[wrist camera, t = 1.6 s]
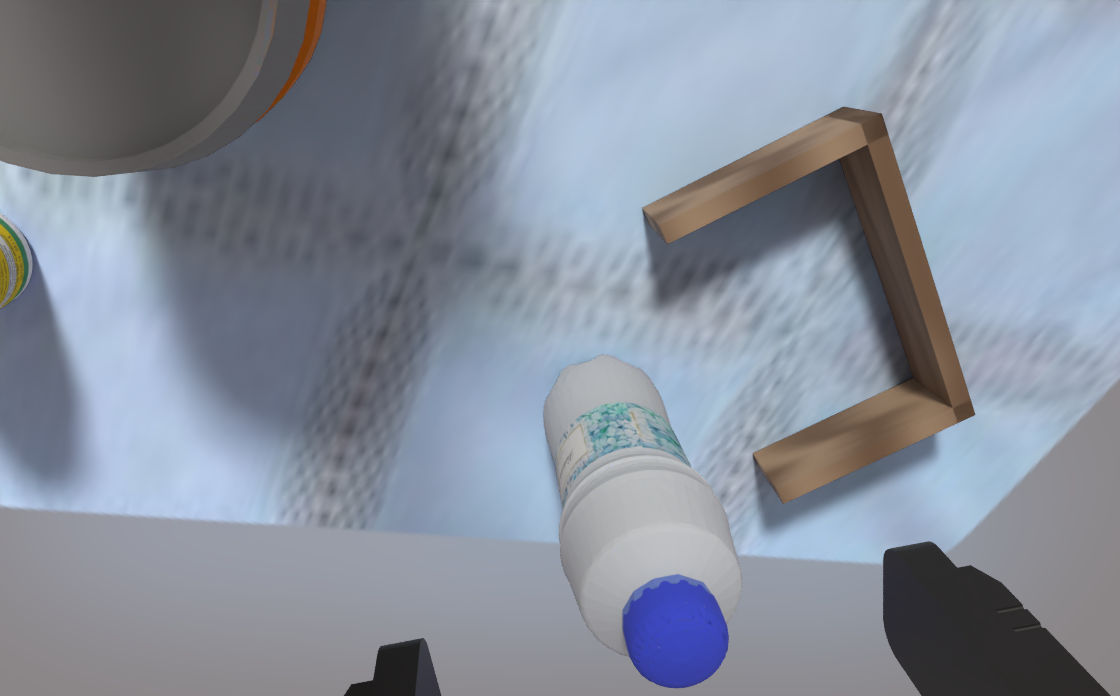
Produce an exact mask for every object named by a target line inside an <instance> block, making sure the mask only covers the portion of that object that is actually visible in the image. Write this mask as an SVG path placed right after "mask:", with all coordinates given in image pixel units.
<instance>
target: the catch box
mask: <svg viewBox="0 0 1120 696" xmlns="http://www.w3.org/2000/svg"><path fill="white" fill-rule="evenodd" d="M837 159H840V162H841V165H842V168H843V171H844V174H845V177H846V180H847V183H848V186H849V189H850V192H851V195H852V198H853V201H854V204H855V207H856V210H857V212H858V215H859V218H860V221H861V224H862V227H863V230H864V233H865V236H866V239H867V242H868V245H869V248H870V251H871V254H872V257H873V260H874V263H875V265H876V268H877V271H878V274H879V277H880V280H881V283H882V286H883V289H884V292H885V295H886V298H887V301H888V304H889V307H890V310H891V313H892V316H893V319H894V321H895V324H896V327H897V330H898V333H899V336H900V339H901V342H902V345H903V348H904V351H905V354H906V357H907V360H908V363H909V366H910V369H911V372H912V375H913V377H914V378H912V379H910V380H908V381H905V382H903V383H901V384H899V385H897V386H895V387H893V388H891V389H888V390H886V391H884V392H882V393H880V394H878V395H876V396H874V397H871V398H869V399H867V400H865V401H863V402H861V403H859V404H857V405H854V406H852V407H850V408H848V409H846V410H844V411H842V412H840V413H837V414H835V415H833V416H831V417H829V418H827V419H825V420H823V421H820V422H818V423H816V424H814V425H812V426H810V427H808V428H806V429H803V430H801V431H799V432H797V433H795V434H793V435H791V436H789V437H786V438H784V439H782V440H780V441H778V442H776V443H774V444H772V445H769V446H767V447H765V448H763V449H761V450H759V451H757V452H755V453H753V455H754V457H755V459H756V462H757V464H758V466H759V468H760V469H761V471H762V472H763V474H764V475H765V477H766V478H767V480H768V481H769V483H770V484H771V486H772V488H773V489H774V491H775V492H776V494H777V495H778V497H779V498H780V500H781V501H782V503H783V504H784V503H786V502H788V501H791V500H793V499H795V498H797V497H799V496H801V495H804V494H806V493H808V492H810V491H812V490H814V489H817V488H819V487H821V486H823V485H825V484H827V483H829V482H832V481H834V480H836V479H838V478H840V477H842V476H845V475H847V474H849V473H851V472H853V471H855V470H858V469H860V468H862V467H864V466H866V465H868V464H870V463H873V462H875V461H877V460H879V459H881V458H883V457H886V456H888V455H890V454H892V453H894V452H896V451H899V450H901V449H903V448H905V447H907V446H909V445H911V444H914V443H916V442H918V441H920V440H922V439H924V438H927V437H929V436H931V435H933V434H935V433H937V432H940V431H942V430H944V429H946V428H948V427H950V426H952V425H955V424H957V423H959V422H961V421H963V420H965V419H968V418H970V417H972V416H974V415H975V412H974V409H973V406H972V402H971V399H970V396H969V393H968V390H967V386H966V383H965V380H964V377H963V373H962V370H961V367H960V364H959V361H958V357H957V354H956V351H955V348H954V344H953V341H952V338H951V335H950V332H949V328H948V325H947V322H946V319H945V316H944V312H943V309H942V306H941V303H940V299H939V296H938V293H937V290H936V287H935V283H934V280H933V277H932V274H931V270H930V267H929V264H928V261H927V258H926V254H925V251H924V248H923V245H922V241H921V238H920V235H919V232H918V229H917V225H916V222H915V219H914V216H913V213H912V209H911V206H910V203H909V200H908V196H907V193H906V190H905V187H904V184H903V180H902V177H901V174H900V171H899V167H898V164H897V161H896V158H895V155H894V151H893V148H892V145H891V142H890V138H889V135H888V132H887V129H886V126H885V122H884V119H883V116H882V114H881V113H876V112H870V111H865V110H859V109H854V108H848V107H842V108H840V109H838V110H836V111H834V112H832V113H830V114H828V115H826V116H824V117H822V118H820V119H818V120H816V121H814V122H812V123H810V124H808V125H806V126H804V127H802V128H800V129H798V130H796V131H794V132H792V133H790V134H788V135H786V136H784V137H782V138H780V139H778V140H776V141H774V142H772V143H770V144H768V145H766V146H764V147H762V148H760V149H758V150H756V151H754V152H752V153H750V154H748V155H746V156H745V157H743V158H741V159H739V160H737V161H735V162H733V163H731V164H729V165H727V166H725V167H723V168H721V169H719V170H717V171H715V172H713V173H711V174H709V175H707V176H705V177H703V178H701V179H699V180H697V181H695V182H693V183H691V184H689V185H687V186H685V187H683V188H681V189H679V190H677V191H675V192H673V193H671V194H669V195H667V196H665V197H663V198H661V199H659V200H657V201H655V202H653V203H651V204H649V205H647V206H645V207H643V211H644V213H645V215H646V217H647V220H648V222H649V224H650V226H651V227H652V228H653V229H654V230H655V231H656V232H657V233H658V234H659V236H660V237H661V238H662V239H663V240H664V241H665V242H666V243H667V244H669V243H671V242H673V241H675V240H677V239H679V238H681V237H683V236H685V235H687V234H689V233H691V232H693V231H695V230H697V229H699V228H701V227H703V226H705V225H707V224H709V223H711V222H713V221H715V220H717V219H719V218H721V217H723V216H725V215H727V214H729V213H731V212H733V211H735V210H737V209H739V208H741V207H743V206H745V205H747V204H749V203H751V202H753V201H755V200H757V199H759V198H761V197H763V196H765V195H767V194H769V193H771V192H773V191H775V190H777V189H779V188H781V187H783V186H785V185H787V184H789V183H791V182H793V181H795V180H797V179H799V178H801V177H803V176H805V175H807V174H809V173H811V172H813V171H815V170H817V169H819V168H821V167H823V166H825V165H827V164H829V163H831V162H833V161H835V160H837Z"/></svg>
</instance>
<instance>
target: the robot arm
mask: <svg viewBox="0 0 1120 696" xmlns="http://www.w3.org/2000/svg"><path fill="white" fill-rule="evenodd" d="M883 621H884V628H885V632H886V636H887V639H888V642H889V645H890V647H891V649H892V651H893V653H894V655H895V657H896V659H897V660H898V661H899V663H900V664H901V666H902V667H903V669H904V670H905V672H906V673H907V675H908V676H909V678H910V679H911V681H912V682H913V684H914V685H915V687H916V688H917V690H918V691H919V693H920V694H921V695H922V696H1110V695H1109V694H1108V692H1107V691H1106V690H1105V689H1104V688H1103V687H1102V686H1101V685H1100V684H1099V683H1098V682H1097V681H1096V680H1095V679H1094V678H1093V677H1092V676H1091V675H1090V674H1089V673H1088V672H1087V671H1086V670H1085V669H1084V668H1083V667H1082V666H1081V665H1080V664H1079V663H1078V662H1077V660H1075V658H1074V657H1073V656H1072V655H1071V654H1070V653H1069V652H1068V651H1067V650H1066V649H1065V648H1064V647H1063V646H1062V645H1061V644H1060V643H1059V642H1058V641H1057V640H1056V639H1055V638H1054V637H1053V636H1052V635H1051V634H1050V633H1049V631H1048V630H1047V629H1046V628H1042V627H1041V625H1040V622H1039V621H1038V620H1037V619H1036V618H1035V617H1034V616H1033V615H1032V614H1031V613H1030V612H1029V611H1028V610H1027V609H1024V608H1023V605H1022V604H1021V602H1019V600H1018V599H1017V598H1016V597H1015V596H1014V595H1013V594H1012V593H1011V592H1010V591H1009V590H1008V589H1007V588H1006V587H1005V586H1004V585H1003V584H1002V583H1001V582H999V581H998V580H996V579H994V578H992V577H990V576H989V575H987V574H985V573H983V572H981V571H980V570H978V569H976V568H974V567H973V566H971V565H970V566H965V567H960V568H957V567H956V566H955V565H954V564H953V563H952V562H951V560H950V559H949V558H948V557H947V556H946V555H945V554H944V553H943V552H942V551H941V549H940V548H939V547H938V546H937V545H936V544H934V543H933V542H923V543H918V544H912V545H907V546H902V547H896V548H891V549H887V550H886V551H885V553H884V558H883ZM344 696H441V693H440V689H439V686H438V682H437V678H436V675H435V671H434V667H433V664H432V660H431V656H430V653H429V649H428V646H427V643H426V641H425V639H424V638H421V639H416V640H411V641H405V642H400V643H395V644H389V645H384V646H381V647H380V648H379V650H378V654H377V660H376V666H375V673H374V678H373V680H372V681H367V682H362V683H357V684H351V686H350V687H349V689H348V690H347V692H346V694H345V695H344Z"/></svg>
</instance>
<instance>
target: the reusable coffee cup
mask: <svg viewBox="0 0 1120 696" xmlns="http://www.w3.org/2000/svg"><path fill="white" fill-rule="evenodd" d="M325 8H326V0H0V160H1V161H3V162H5V163H9V164H13V165H17V166H21V167H25V168H29V169H33V170H37V171H41V172H45V173H49V174H60V175H75V176H90V177H97V176H106V175H115V174H124V173H133V172H141V171H149V170H157V169H165V168H173V167H176V166H179V165H182V164H185V163H188V162H191V161H194V160H197V159H200V158H202V157H205V156H208V155H210V154H212V153H214V152H215V151H217V150H219V149H220V148H222V147H224V146H225V145H227V144H228V143H230V142H232V141H233V140H235V139H237V138H238V137H240V136H241V135H242V134H243V133H245V132H246V131H247V130H248V129H249V128H250V127H251V126H252V125H253V124H254V123H256V122H257V121H259V120H260V119H261V118H262V117H263V116H264V115H265V114H266V113H267V112H268V111H269V110H270V109H271V108H272V107H274V106H275V105H276V104H277V103H278V102H279V101H280V100H281V99H282V98H283V97H284V95H285V94H286V93H287V92H288V91H289V89H290V88H291V87H292V86H293V84H294V83H295V82H296V81H297V79H298V78H299V76H300V75H301V73H302V72H303V70H304V69H305V67H306V66H307V64H308V63H309V61H310V60H311V58H312V55H313V53H314V50H315V47H316V45H317V42H318V40H319V37H320V35H321V31H322V26H323V20H324V14H325Z"/></svg>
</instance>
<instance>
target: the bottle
mask: <svg viewBox="0 0 1120 696" xmlns="http://www.w3.org/2000/svg"><path fill="white" fill-rule="evenodd" d="M543 418H544V428H545V433H546V438H547V442H548V445H549V448H550V451H551V455H552V457H553V460H554V463H555V468H556V474H557V480H558V485H559V491H560V496H561V502H562V507H563V511H562V514H561V518H560V524H559V539H560V556H561V562H562V567H563V569H564V572H565V575H566V577H567V579H568V581H569V583H570V585H571V588H572V590H573V593H574V596H575V598H576V601H577V604H578V606H579V609H580V612H581V614H582V617H583V619H584V621H585V623H586V625H587V627H588V628H589V629H590V631H591V632H592V633H593V635H594V636H595V637H596V638H597V639H598V640H599V641H600V642H601V643H603V644H604V645H605V646H607V647H608V648H610V649H612V650H614V651H616V652H618V653H620V654H622V655H625V656H629V657H630V658H631V660H632V662H633V664H634V666H635V667H636V669H637V670H638V671H639V672H640V674H641V675H642V676H644V677H645V678H646V679H648V680H649V681H651V682H654V683H656V684H657V685H660V686H664V687H668V688H685V687H689V686H693V685H696V684H698V683H701V682H702V681H704V680H706V679H708V677H710V676H711V675H712V674H714V672H715V671H716V670H717V669H718V668H719V666H720V665H721V663H722V661H723V660H724V658H725V655H726V652H727V650H728V640H729V637H728V636H729V635H728V629H727V624H728V622H729V621H730V619H731V617H732V616H733V614H734V613H735V611H736V608H737V605H738V603H739V600H740V594H741V588H742V575H741V569H740V565H739V562H738V558H737V554H736V551H735V547H734V543H733V540H732V536H731V533H730V528H729V523H728V518H727V515H726V512H725V510H724V508H723V506H722V504H721V503H720V501H719V500H718V498H717V497H716V496H715V495H714V493H713V491H712V489H711V487H710V485H709V484H708V483H707V481H706V480H705V479H704V478H703V477H702V476H701V475H700V474H699V473H698V472H696V471H695V470H694V469H692V467H691V465H690V463H689V461H688V459H687V457H686V455H685V453H684V451H683V449H682V447H681V445H680V443H679V441H678V439H677V437H676V435H675V433H674V431H673V430H672V428H671V425H670V422H669V419H668V416H667V413H666V410H665V407H664V404H663V401H662V399H661V396H660V394H659V392H658V390H657V389H656V387H655V386H654V384H653V383H652V381H651V379H650V378H649V377H648V376H647V375H646V374H645V372H644V371H643V370H641V369H639V368H637V367H634V366H632V365H630V364H628V363H625V362H623V361H621V360H619V359H617V358H615V357H613V356H610V355H599V356H597V357H596V358H594V359H593V360H590V361H587V362H584V363H581V364H577V365H574V364H571V365H568V366H567V367H566V368H564V369H563V370H562V371H561V373H560V374H559V376H558V378H557V380H556V382H555V384H554V386H553V388H552V389H551V391H550V393H549V395H548V396H547V398H546V400H545V404H544V412H543Z"/></svg>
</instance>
